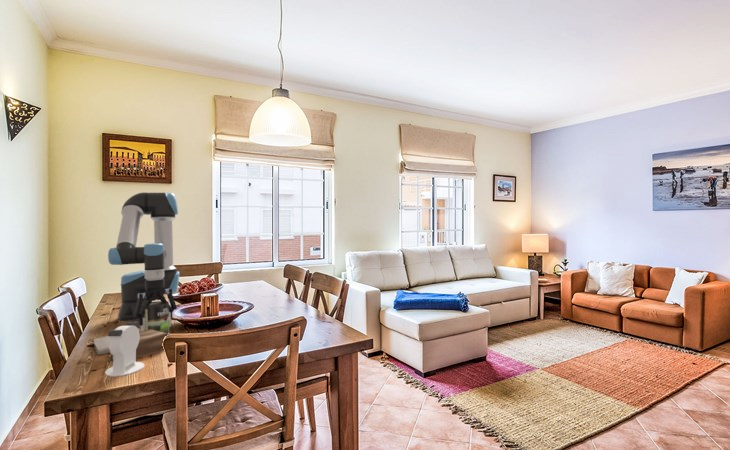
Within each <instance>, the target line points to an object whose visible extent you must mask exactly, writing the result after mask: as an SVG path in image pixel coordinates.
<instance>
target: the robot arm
mask: <svg viewBox="0 0 730 450" xmlns="http://www.w3.org/2000/svg"><path fill="white" fill-rule="evenodd" d="M144 215H146V216H149V215H150V219H151V220H152V221H153V231H154V232H153V235H154V237H153V238H154V242H153V243H146V244H144V246H138V247H137V242H138V241H137V240H138V234H139V228H140V223H141V219H142V218H143V216H144ZM176 215H179V209H178V202H177V198H176V195H175V194H174V193H173V192H144V191H143V192H138V193H136V194H134V195H131V196H130V197H129V198H128V199H127V200H126V201H125V202H124V203H123V205H122V207H121V216H122V219H121V223H120V228H119V232H118V235H117V236H118V238H117V241H116V247H111V248H109V249H108V254H107V259H108V260H107V261H108V263H109V264H110V265H111V266H112V265H113V266H124V265H137V264H141V265H142V264H144V270H138V271H133V272H129V273H125V274H123V275H122V276H121V277H120V288H121V289H120V293H121V295H120V296H121V305H120V308H119V311H118V313H117V320H118V321H125V322H132V321H137V322H139V324H140V326H139V327H140V332H141V331H145V318H144V317H143V316H144V314H145V308H142V305H143V304H144V305H143V306H149V305H150V303H151V302H156V301H161V302H162V303H166V302H169V328H170V327H172V319H173V313H174V312H175V310H177V309H178V307H177V304H176V302H175V299H174V295H173V294H175V293H177V292H178V289H179V282H180V271H178V270H177V267H176V266H175V265H174V248H173V247H174V245H173V242H174V239H173V238H174V237H173V233H174V232H173V221H174V220H175V219H176ZM164 295H167V299H168V301H167V300H166V297H165V296H164Z"/></svg>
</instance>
